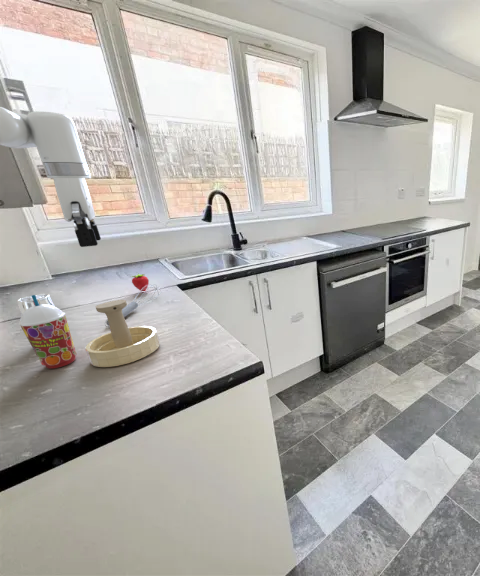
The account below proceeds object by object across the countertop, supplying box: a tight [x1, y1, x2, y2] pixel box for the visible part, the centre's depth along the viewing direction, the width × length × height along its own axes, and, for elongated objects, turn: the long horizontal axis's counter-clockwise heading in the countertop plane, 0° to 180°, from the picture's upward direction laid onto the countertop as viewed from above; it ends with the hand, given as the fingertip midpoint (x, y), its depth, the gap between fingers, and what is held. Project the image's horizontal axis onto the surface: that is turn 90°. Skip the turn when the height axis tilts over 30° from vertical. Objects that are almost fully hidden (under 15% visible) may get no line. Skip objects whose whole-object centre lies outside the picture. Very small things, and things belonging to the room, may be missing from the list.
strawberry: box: [130, 272, 150, 292], centre depth 139 cm, size 6×8×10 cm
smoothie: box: [18, 294, 77, 369], centre depth 82 cm, size 8×8×20 cm
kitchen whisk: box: [104, 284, 162, 328], centre depth 119 cm, size 6×34×6 cm, turn 10°
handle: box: [95, 299, 133, 349], centre depth 87 cm, size 5×6×15 cm
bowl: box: [84, 325, 161, 368], centre depth 88 cm, size 16×16×5 cm
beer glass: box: [16, 293, 55, 315], centre depth 94 cm, size 7×7×15 cm
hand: (91, 243), depth 79 cm, fingers open, 9 cm apart
